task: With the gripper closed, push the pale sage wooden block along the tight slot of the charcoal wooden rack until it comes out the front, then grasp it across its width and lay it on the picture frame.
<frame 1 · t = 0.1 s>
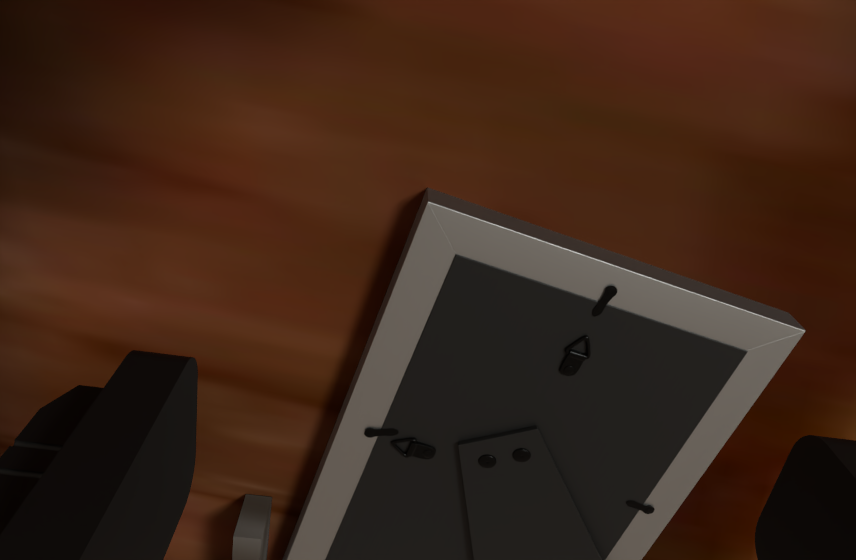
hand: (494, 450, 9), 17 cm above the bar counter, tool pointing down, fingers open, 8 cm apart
picture frame: (508, 436, 32), on the bar counter
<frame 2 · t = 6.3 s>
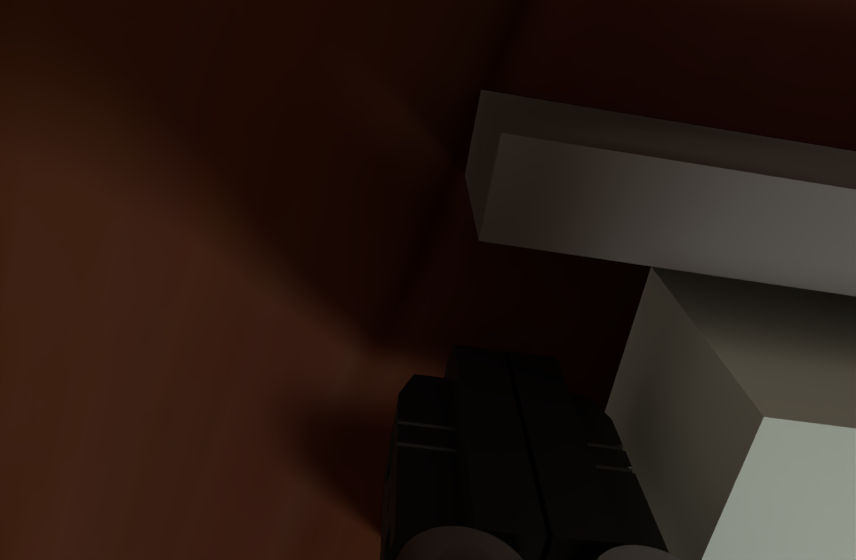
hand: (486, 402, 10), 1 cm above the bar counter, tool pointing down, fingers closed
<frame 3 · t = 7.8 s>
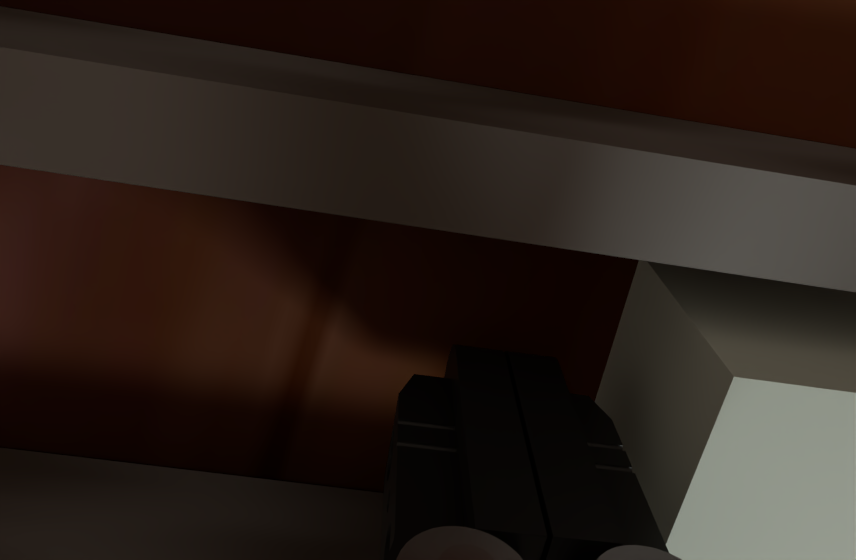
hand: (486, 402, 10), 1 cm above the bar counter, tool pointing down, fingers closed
slot rack: (391, 346, 11), on the bar counter
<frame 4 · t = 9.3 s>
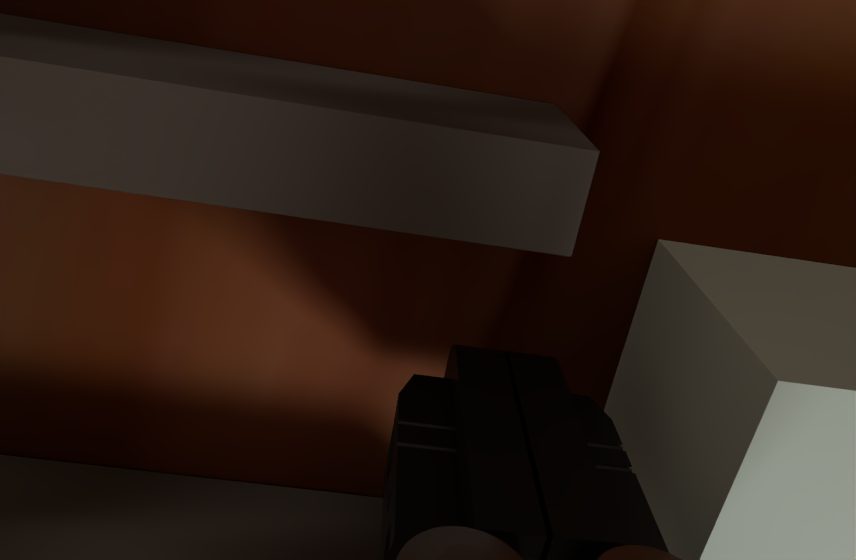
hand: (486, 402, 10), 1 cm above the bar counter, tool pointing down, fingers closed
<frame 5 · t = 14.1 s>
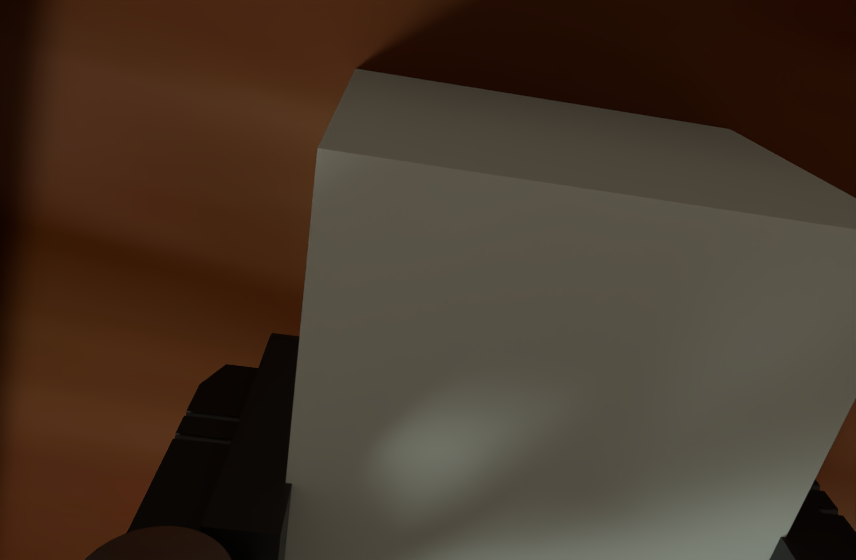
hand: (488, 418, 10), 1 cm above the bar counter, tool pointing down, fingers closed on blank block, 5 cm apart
blank block: (475, 413, 11), on the bar counter, touching gripper
when the fingers open (5 cm above the bar counter, at t = 19.4 s): blank block drops 3 cm, resting on picture frame.
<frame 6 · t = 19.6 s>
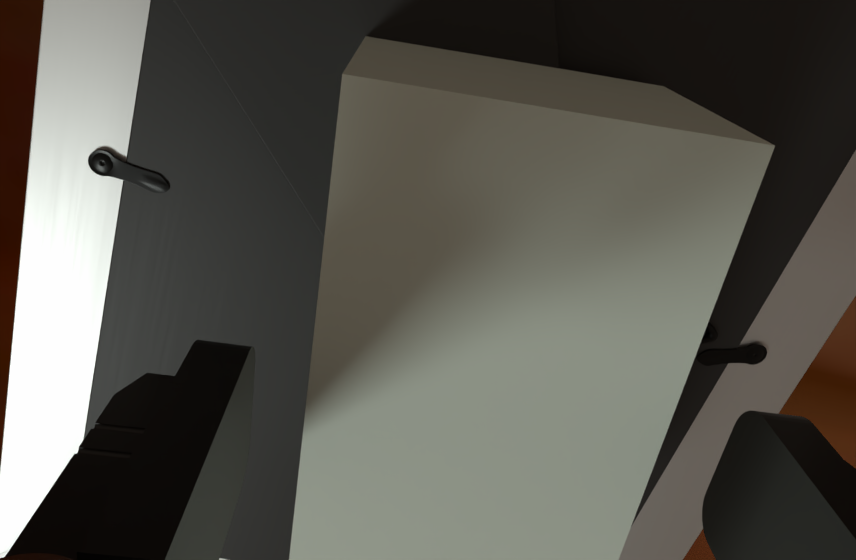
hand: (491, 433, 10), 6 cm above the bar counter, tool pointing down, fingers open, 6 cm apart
picture frame: (447, 225, 16), on the bar counter, touching blank block
blank block: (461, 325, 14), point 2 cm above the bar counter, touching picture frame
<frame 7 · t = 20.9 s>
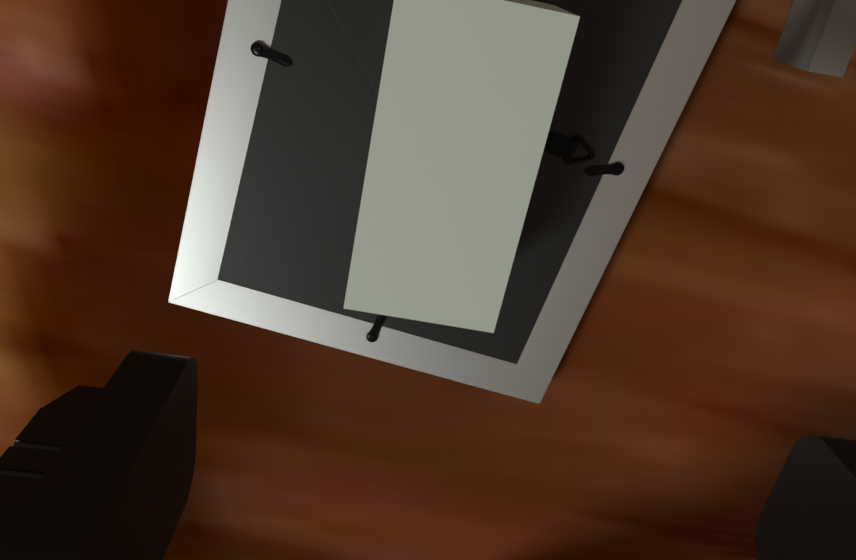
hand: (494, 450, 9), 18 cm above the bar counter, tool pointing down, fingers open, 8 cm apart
picture frame: (442, 99, 26), on the bar counter, touching blank block
blank block: (445, 141, 24), point 2 cm above the bar counter, touching picture frame
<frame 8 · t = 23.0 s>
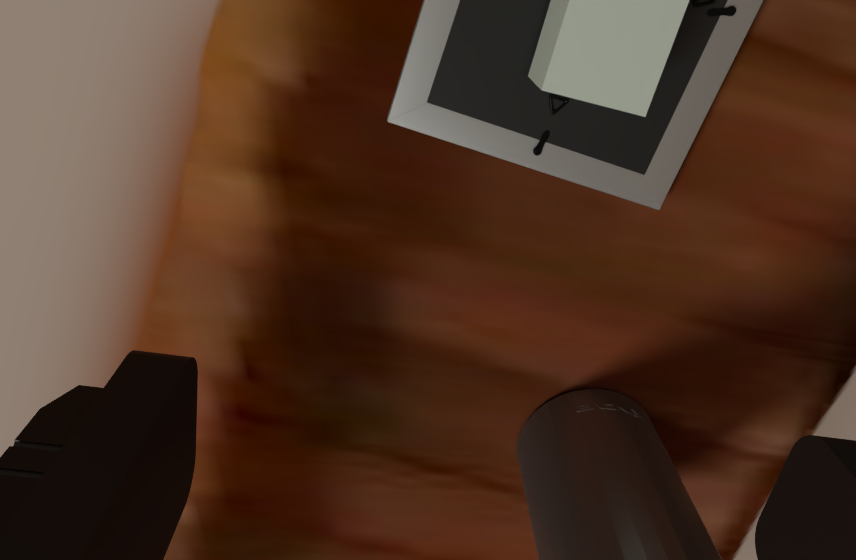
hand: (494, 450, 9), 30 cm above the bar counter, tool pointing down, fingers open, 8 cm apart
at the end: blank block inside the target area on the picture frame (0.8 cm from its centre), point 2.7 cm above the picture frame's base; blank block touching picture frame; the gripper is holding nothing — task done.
